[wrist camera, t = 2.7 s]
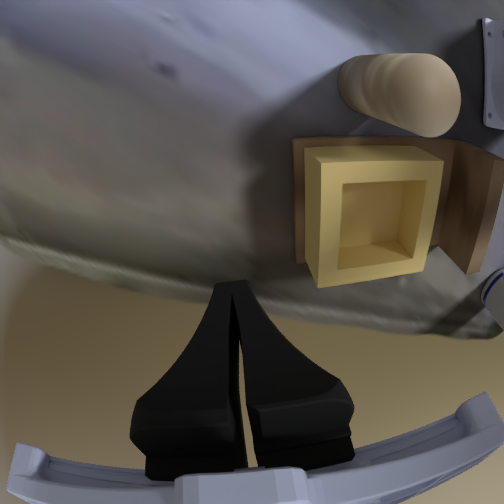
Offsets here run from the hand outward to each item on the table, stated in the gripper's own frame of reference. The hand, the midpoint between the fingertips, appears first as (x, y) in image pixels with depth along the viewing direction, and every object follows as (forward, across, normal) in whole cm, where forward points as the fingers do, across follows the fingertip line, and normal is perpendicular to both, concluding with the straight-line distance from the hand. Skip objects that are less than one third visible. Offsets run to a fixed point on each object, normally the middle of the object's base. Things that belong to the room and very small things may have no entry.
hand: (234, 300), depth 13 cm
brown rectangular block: (+9, -12, 0) cm, 15 cm away
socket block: (+9, -9, 0) cm, 13 cm away
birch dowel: (+9, -10, -8) cm, 15 cm away
